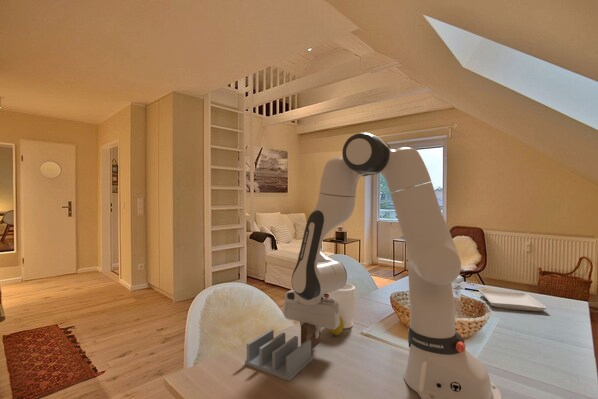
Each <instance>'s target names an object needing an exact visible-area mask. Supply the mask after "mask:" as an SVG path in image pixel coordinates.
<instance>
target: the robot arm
mask: <svg viewBox="0 0 598 399" xmlns="http://www.w3.org/2000/svg"><path fill="white" fill-rule="evenodd" d="M341 154H342V157H341V156H339V157H338V156H337V157H333V158H331V159H329V160H328V161H327V162H326V163H325V165H324V168H323V172H322V175H321V178H320V179H321V180H320V184H319V192H318V193H319V194H318V200H317V202H316V205H315V208H314V209H313V211H312V212H311V213H310V214H309V216H308V218H307V221H306V225H305V229H304V233H303V237H302V241H301V245H300V250H299V252H298V256H297V260H296V264H295V267H294V269H293V272H292V275H291V286H292V289H290V290H288V291H286V292H285V293H284V298H285V300H284V302H283V316H284V318H285V319H288V320H293V321H295V322H299V325H300V327H301V325H302V324H304V323H309V324H312V325H315V328H316V329H317V330H316V331H314V332H313V338H318V337H319V331H320V332H321V330H322V328H325V329H327V330H329V329H332V330H335V329H336V328H337V327H338V326H339V325H340V317H339V304H338V303H337V302H336V301H335V300H334V299H329V297H324V296H325V295H326V294H329V293H330V292H333V291H336V290H339V289H341V288H343V287H344V286H345V284H347V279H348V273H347V269H346V268H345V266H344V264H343V263H342V262H341V261H339V260H336V259H334V258H332V257H331V256H328V255H327V254H326V253H325V252H324V251H323V249H322V245H323V241H324V240H325V238H326V236H327V235H328V234H329V233H330V232H331V231H333V229H335V228H337V227H338V226H340V225H342V224H344V223H346V221H348V220H349V219H350V218H351V216H353V215H352V214H353V212H354V209H355V204H356V197H357V196H356V195H357V186H358V182H359V180H360V179H361V177H367V176H372V175H378V174H381V175H382V177H383V178H384V179H385V181H386V184H387V188H388V191H389V194H390V198H391V201H392V204H393V207H394V211H395V215H396V218H397V221H398V225H399V227H400V230H401V233H402V237H403V240H404V243H405V246H406V248H407V274H408V275H407V276H408V289H409V326H408V330H407V343H408V348H409V350H408V359H407V364H406V369H405V372H404V374H403V378H404V381H405V383H406V384H407V385H408V386H409V387H410V389H412V390H413V391H414V392H416V393H417V394H418V396H419V397H420V399H502V398H503V397H502V393H501V391H500V389H499V388H498V385H496V384H495V383H494V382H492V381H491V379H490V375H489V372H488V370H487V368H486V366H485V365H484V363H483V362H481V361H480V360H479V359H478V358H476V357H475V356H474V355H473V354H472V353H471V352H469V351H468V350H467V349H466V343H465V338H464V334H463V333H461V334H460V333H458V332H457V331H456V300H455V297H454V291H453V290H454V289H453V284H452V283H453V282H454V281H455V280H457V278H458V277H459V276H460V273H461V270H462V262H461V258H460V255H459V253H458V250H457V248H456V247H457V246H456V244H455V241H454V239H453V237H452V234H451V232H450V230H449V227H448V224H447V222H446V219H445V218H444V216H443V213H442V210H441V207H440V205H439V202H438V198H437V194H436V191H435V188H434V185H433V182H432V178H431V176H430V173H429V170H428V168H427V166H426V164H425V162H424V159H423V158H422V155H421V154H420V153H419V151H418V150H417V149H415V148H414V147H407V146H406V147H405V146H404V147H399V148H396V149H393V148H391V147H390V145H389V143H387V142H386V141H385V140H383V139H382V138H381V137H380V136H377V135H374V134H373V133H369V132H359V133H355V134H352V135H351V136H350V137H349V138H348V139H346V141H345V143H344V144H343V147H342V153H341Z"/></svg>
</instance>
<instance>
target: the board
mask: <svg viewBox="0 0 598 399" xmlns="http://www.w3.org/2000/svg"><path fill="white" fill-rule="evenodd" d="M316 330H317V329H316V328H315V325H312V324H309V323H304V324H302V325H301V326H300V346H301V345H302V344H303V343H305V342H306V341H307V340H311V348H312V347H313V348H314V347H315V346H316V345H317V344H319V343H320V342H321V339H322V338H321V330H320V331H319V337H318V338H313V332H314V331H316ZM313 348H312V349H313Z"/></svg>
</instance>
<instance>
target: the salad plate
mask: <svg viewBox="0 0 598 399" xmlns="http://www.w3.org/2000/svg"><path fill="white" fill-rule="evenodd" d="M478 292H479V294H481V295H482V297H484V299H486V300H487V301H488V302H489V304H490V305H491V306H493V307H496V308H498V309H504V310H505V309H507V310H515V311H516V310H517V311H525V312H526V311H527V312H528V311H529V312H541V311H544V310H545V311H546V310H547V306H546V305H544V304H543V303H541V302H540V301H538V300H537V299H536V298H534V297H532V296H531V295H530V294H528V293H525V292H516V291H515V292H513V291H503V290H491V289H490V290H487V289H478Z"/></svg>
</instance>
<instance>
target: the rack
mask: <svg viewBox="0 0 598 399" xmlns="http://www.w3.org/2000/svg"><path fill="white" fill-rule="evenodd" d="M274 336H275V335H274V329H272V328H271V329H269V330H267V331H266V332H264V333H262V334H261V335H259V336H258V337H255V338H254V339H252V340H250V341H249V342H248V343H246V360H245V361H244V365H245V366H247V367H248V366H249V367H251V368H253V369H256V370H259V371H262V372H264V373H267V374H269V375H272V376H274V377H277V378H280V379H282V380H285V381H287V382H290V381H291V380H292V379H293V378H294V377H296V375H298V374H299V373H300V372H301V371H302V370H303V369H304V368H305V367H306V366H307V365H309V364H310V363H311V362H312V361H313V360H314V356H313V355H312V349H311V340H307V341H306V342H305V343H303V344H302V345H301V344H300V346H299V336H298V335H297V336H296V335H295V336H293V337H291V339H289V340H286V332H281V333H280V334H279V335H276V336H275V337H274ZM308 363H309V364H308Z"/></svg>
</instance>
